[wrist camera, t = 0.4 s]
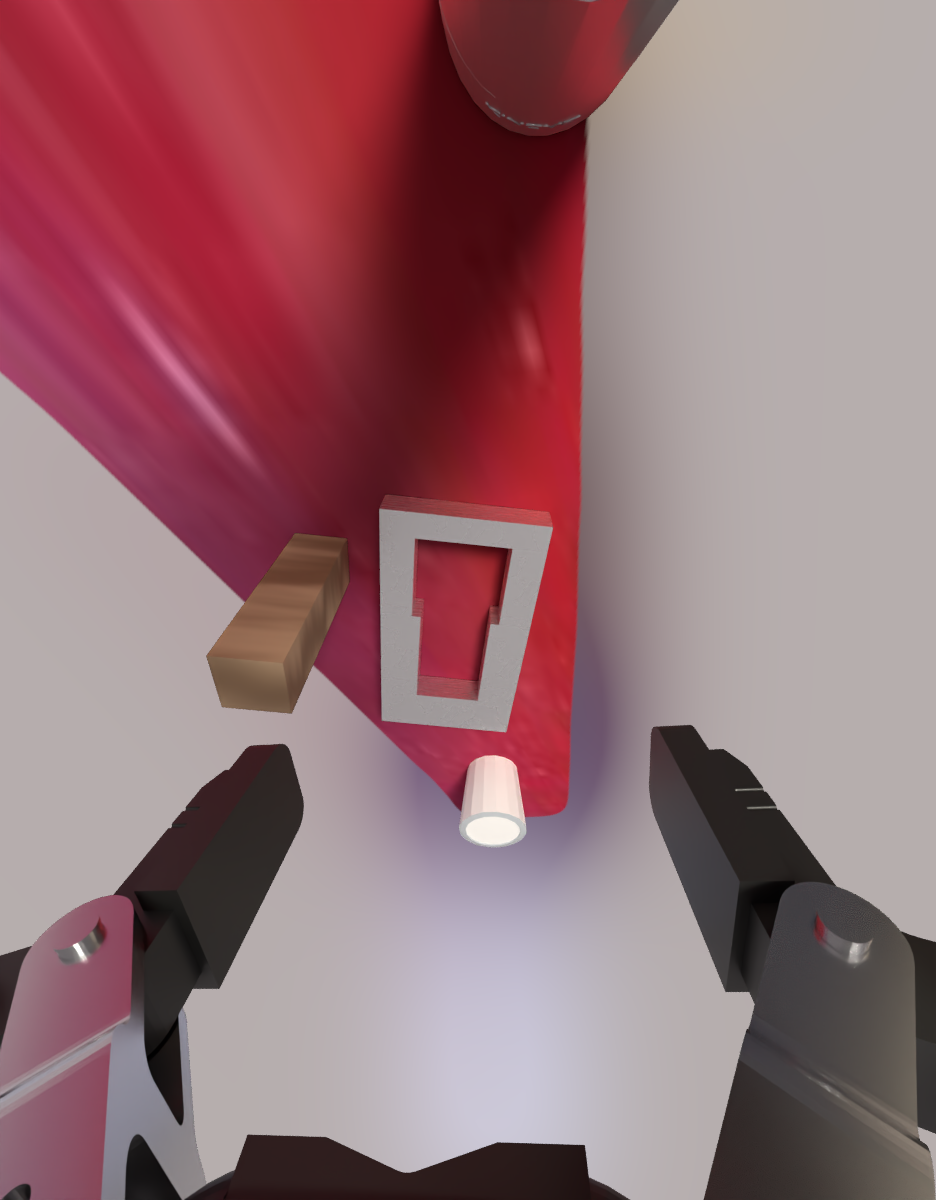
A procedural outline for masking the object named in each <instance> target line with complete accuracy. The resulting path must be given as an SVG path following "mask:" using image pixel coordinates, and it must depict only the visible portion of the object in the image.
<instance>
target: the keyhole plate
mask: <svg viewBox="0 0 936 1200" xmlns="http://www.w3.org/2000/svg"><path fill="white" fill-rule="evenodd" d="M379 530H380V615H381V700H382V721H391V722H402V723H412V724H423V725H434V726H445V727H455V728H466V729H477V730H488V731H499V732H506V731H507V726H508V722H509V717H510V713H511V709H512V704H513V700H514V696H515V691H516V687H517V682H518V678H519V674H520V669H521V665H522V661H523V656H524V652H525V648H526V643H527V639H528V634H529V630H530V626H531V621H532V617H533V613H534V608H535V604H536V600H537V595H538V591H539V586H540V582H541V578H542V573H543V569H544V565H545V560H546V556H547V552H548V547H549V543H550V538H551V534H552V530H553V525H552V521H551V517H550V513H549V512H546V511H537V510H527V509H518V508H509V507H500V506H490V505H481V504H472V503H462V502H453V501H444V500H435V499H425V498H416V497H407V496H398V495H388V494H386V495H385V497H384V499H383V501H382V504H381V506H380V508H379ZM418 539H425V540H434V541H444V542H453V543H463V544H472V545H482V546H491V547H501V548H508V554H507V560H506V566H505V571H504V577H503V583H502V589H501V595H500V600H499V606H490V610H489V617H488V623H487V629H486V635H485V642H484V648H483V654H482V661H481V667H480V673H479V679H478V681H473V680H462V679H452V678H442V677H431V676H421V675H420V664H421V646H422V628H423V610H424V599H420V598H416V582H417V558H418Z"/></svg>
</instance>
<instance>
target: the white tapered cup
mask: <svg viewBox="0 0 936 1200" xmlns="http://www.w3.org/2000/svg"><path fill="white" fill-rule="evenodd" d="M459 829H460V833H461V835H462V836H463V837H464V838H465V839H466V840H467V841H469V842H471V843H474V844H476V845H479V846H485V847H504V846H508V845H512V844H515V843H516V842H518V841H520V840H521V839H523V837H524V836H525V834H526V824H525V817H524V811H523V805H522V798H521V792H520V786H519V780H518V773H517V767H516V766H515V764H514V763H513V762H512V761H510V760H509V759H507V758H505V757H500V756H495V755H494V756H483V757H480V758H477V759H475V760H474V761H473V762H471V763H470V765H469V767H468V770H467V777H466V784H465V791H464V798H463V804H462V811H461V819H460V826H459Z"/></svg>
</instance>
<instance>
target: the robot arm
mask: <svg viewBox="0 0 936 1200" xmlns="http://www.w3.org/2000/svg"><path fill="white" fill-rule="evenodd" d="M678 1H679V0H439V5H440V11H441V16H442V22H443V26H444V30H445V35H446V39H447V43H448V48H449V52H450V55H451V58H452V60H453V63H454V65H455V68H456V70H457V73H458V75H459V78H460V80H461V82H462V83H463V85H464V86H465V88H466V90H467V91H468V93H469V94H470V96H471V98H472V99H473V101H474V102H475V103H476V104H477V105H478V106H479V107H480V109H481V110H482V111H483V112H484V113H485V114H486V115H487V116H488V117H489V118H490V119H491V120H493V121H495V122H496V123H498V124H499V125H501V126H503V127H504V128H506V129H507V130H509V131H513V132H516V133H520V134H523V135H527V136H548V135H551V134H555V133H558V132H561V131H564V130H568V129H570V128H571V127H573V126H575V125H576V124H578V123H579V122H581V121H583V120H584V119H586V118H588V117H589V116H590V115H591V114H592V113H593V112H594V111H595V110H596V109H597V108H598V107H599V106H600V105H601V104H603V103H604V102H605V101H606V99H607V98H608V97H609V95H610V94H611V93H612V92H613V90H614V89H615V87H616V86H617V85H618V83H619V82H620V81H621V79H622V78H623V76H624V75H625V74H626V72H627V71H628V70H629V68H630V67H631V66H632V65H633V63H634V62H635V61H636V60H637V58H638V57H639V55H640V54H641V53H642V51H643V50H644V48H645V47H646V46H647V44H648V43H649V41H650V40H651V39H652V37H653V36H654V35H655V33H656V32H657V30H658V29H659V28H660V26H661V25H662V23H663V22H664V21H665V19H666V18H667V16H668V15H669V14H670V12H671V11H672V9H673V8H674V6H675V5H676V4H677V2H678ZM649 791H650V799H651V804H652V809H653V813H654V816H655V818H656V821H657V823H658V826H659V828H660V831H661V833H662V836H663V838H664V841H665V843H666V846H667V848H668V851H669V853H670V856H671V858H672V860H673V863H674V866H675V868H676V871H677V873H678V875H679V878H680V880H681V883H682V885H683V888H684V890H685V893H686V895H687V897H688V900H689V903H690V905H691V908H692V910H693V912H694V915H695V917H696V920H697V922H698V925H699V927H700V930H701V932H702V935H703V937H704V940H705V942H706V945H707V947H708V949H709V952H710V955H711V957H712V960H713V962H714V964H715V967H716V969H717V972H718V974H719V977H720V979H721V982H722V984H723V987H724V989H725V991H726V992H750V995H751V997H752V999H753V1001H754V1004H755V1005H754V1010H753V1014H752V1018H751V1022H750V1025H749V1029H747V1030H746V1034H745V1037H744V1040H743V1044H742V1047H741V1051H740V1055H739V1059H738V1063H737V1068H736V1071H735V1076H734V1079H733V1083H732V1087H731V1091H730V1096H729V1100H728V1104H727V1108H726V1112H725V1116H724V1120H723V1124H722V1128H721V1132H720V1136H719V1140H718V1144H717V1148H716V1152H715V1157H714V1161H713V1164H712V1168H711V1172H710V1176H709V1181H708V1185H707V1189H706V1193H705V1197H704V1200H936V1199H935V1182H934V1181H935V1180H934V1170H933V1164H932V1158H931V1154H930V1151H929V1148H928V1146H927V1145H926V1144H925V1143H923V1142H922V1141H920V1139H919V1134H918V1127H920V1128H923V1129H925V1130H928V1131H930V1132H933V1133H935V1134H936V942H933V941H930V940H926V939H922V938H918V937H916V936H912V935H909V934H907V933H904V932H901V931H900V930H899V928H898V927H897V926H896V925H895V924H894V923H893V922H892V921H891V920H890V919H889V918H888V917H887V916H886V915H885V914H884V913H882V911H880V910H879V909H878V908H876V907H875V906H874V905H872V904H871V903H870V902H868V901H866V900H865V899H863V898H861V897H860V896H858V895H856V894H853V893H852V892H850V891H848V890H845V889H842V888H840V887H837V886H836V885H835V884H834V883H833V881H832V880H831V879H830V877H829V876H828V875H827V873H826V872H825V870H824V869H823V868H822V866H821V865H820V864H819V862H818V861H817V860H816V858H815V857H814V856H813V855H812V853H811V851H810V850H809V849H808V847H807V846H806V845H805V843H804V842H803V841H802V839H801V838H800V837H799V835H798V834H797V833H796V831H795V830H794V828H793V827H792V826H791V824H790V823H789V822H788V820H787V819H786V818H785V817H784V815H783V814H782V812H781V811H780V810H777V808H776V805H775V803H774V802H773V800H772V799H771V798H770V796H769V795H768V793H767V792H764V790H763V787H762V785H761V784H760V783H759V781H758V780H757V778H756V777H755V776H754V775H753V773H752V772H751V770H750V769H749V768H748V766H746V765H745V764H744V763H742V762H741V761H739V760H738V759H737V758H735V757H734V756H732V755H731V754H730V753H728V752H727V751H725V750H724V749H715V750H709V749H708V747H707V746H706V744H705V743H704V741H703V740H702V738H701V737H700V735H699V734H698V732H697V731H696V729H695V728H694V727H693V726H692V725H680V726H660V727H653V729H652V732H651V751H650V777H649ZM303 808H304V803H303V796H302V793H301V789H300V785H299V782H298V779H297V775H296V772H295V768H294V764H293V761H292V757H291V754H290V751H289V748H288V747H287V746H286V745H284V744H274V745H254V746H249V747H248V748H246V749H245V751H244V752H243V753H242V754H241V756H240V757H239V758H238V759H237V761H236V762H235V763H234V764H233V766H232V767H231V768H230V770H225V771H223V772H222V773H221V774H219V775H218V776H216V777H215V778H214V779H213V780H211V781H210V782H209V783H207V784H206V785H205V786H204V787H202V788H201V789H200V791H199V792H198V793H197V794H196V795H195V797H194V798H193V799H192V800H191V802H190V803H189V804H188V805H187V806H186V810H185V811H183V812H181V814H180V815H179V816H178V817H177V818H176V820H175V821H174V822H173V823H172V827H171V828H168V829H167V831H166V832H165V833H164V834H163V835H162V837H161V838H160V839H159V840H158V841H157V843H156V844H155V845H154V846H153V848H152V849H151V850H150V851H149V852H148V854H147V855H146V856H145V857H144V858H143V860H142V861H141V862H140V863H139V864H138V866H137V867H136V868H135V870H134V871H133V872H132V873H131V874H130V876H129V877H128V878H127V879H126V880H125V881H124V883H123V884H122V885H121V886H120V887H119V889H118V890H117V891H116V892H115V894H114V895H110V896H105V897H101V898H98V899H95V900H92V901H90V902H87V903H85V904H83V905H81V906H79V907H77V908H75V909H74V910H72V911H71V912H69V913H67V914H66V915H65V916H63V917H62V918H61V919H59V920H58V921H57V922H55V923H54V924H53V925H52V926H51V927H49V928H48V929H47V930H46V931H45V932H44V933H43V934H42V935H41V936H40V937H39V938H38V940H37V941H36V942H35V943H34V944H33V946H30V947H27V948H24V949H21V950H17V951H14V952H11V953H8V954H4V955H1V956H0V1200H630V1199H628V1198H626V1197H625V1196H623V1195H622V1194H620V1193H618V1192H617V1191H615V1190H614V1189H612V1188H610V1187H609V1186H607V1185H604V1184H602V1183H600V1182H597V1181H595V1180H593V1179H591V1178H589V1176H588V1168H587V1159H586V1151H585V1145H563V1144H531V1143H530V1144H529V1143H495V1144H492V1145H489V1146H486V1147H484V1148H481V1149H478V1150H475V1151H472V1152H469V1153H467V1154H464V1155H461V1156H458V1157H456V1158H453V1159H450V1160H447V1161H444V1162H441V1163H438V1164H436V1165H433V1166H430V1167H427V1168H424V1169H421V1170H419V1171H416V1172H411V1173H403V1172H400V1171H397V1170H395V1169H393V1168H391V1167H388V1166H386V1165H384V1164H382V1163H380V1162H378V1161H376V1160H374V1159H372V1158H369V1157H367V1156H365V1155H363V1154H361V1153H359V1152H357V1151H354V1150H352V1149H350V1148H348V1147H346V1146H344V1145H342V1144H340V1143H338V1142H336V1141H333V1140H331V1139H329V1138H327V1137H303V1136H271V1135H247V1138H246V1141H245V1144H244V1147H243V1149H242V1152H241V1155H240V1158H239V1161H238V1163H237V1166H236V1169H235V1170H234V1171H231V1172H229V1173H227V1174H225V1175H223V1176H221V1177H219V1178H217V1179H215V1180H214V1181H212V1182H210V1183H208V1184H206V1180H205V1175H204V1172H203V1168H202V1164H201V1161H200V1158H199V1154H198V1149H197V1144H196V1138H195V1129H194V1115H193V1101H192V1087H191V1074H190V1060H189V1047H188V1032H187V1019H186V1014H185V1012H184V1010H183V1008H182V1007H183V1005H184V1004H185V1002H186V1000H187V998H188V996H189V994H190V993H191V991H192V989H219V988H220V986H221V984H222V982H223V980H224V978H225V976H226V974H227V972H228V970H229V968H230V966H231V964H232V962H233V960H234V958H235V956H236V954H237V952H238V950H239V948H240V946H241V944H242V942H243V940H244V938H245V936H246V934H247V932H248V930H249V928H250V926H251V924H252V922H253V920H254V918H255V916H256V914H257V912H258V910H259V908H260V906H261V904H262V902H263V900H264V898H265V896H266V894H267V892H268V890H269V888H270V886H271V884H272V882H273V880H274V878H275V876H276V874H277V872H278V870H279V867H280V866H281V864H282V862H283V860H284V858H285V856H286V854H287V852H288V850H289V848H290V846H291V844H292V842H293V840H294V838H295V835H296V834H297V831H298V830H299V827H300V825H301V821H302V817H303Z"/></svg>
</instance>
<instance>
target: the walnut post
mask: <svg viewBox="0 0 936 1200" xmlns="http://www.w3.org/2000/svg"><path fill="white" fill-rule="evenodd" d="M349 582H350V578H349V561H348V543H347V538H338V537H328V536H319V535H309V534H300V533H295V534H294V536H293V537H292V538H291V540H290V541H289V542H288V544H287V545H286V547H285V548H284V549H283V551H282V552H281V553H280V555H279V556H278V558H277V559H276V560H275V562H274V563H273V565H272V566H271V567H270V569H269V570H268V571H267V573H266V574H265V576H264V577H263V578H262V580H261V581H260V582H259V584H258V585H257V587H256V588H255V589H254V591H253V592H252V593H251V595H250V596H249V598H248V599H247V600H246V602H245V603H244V605H243V606H242V607H241V609H240V610H239V612H238V613H237V614H236V616H235V617H234V618H233V620H232V621H231V623H230V624H229V625H228V627H227V628H226V630H225V631H224V632H223V634H222V635H221V636H220V638H219V639H218V640H217V642H216V643H215V645H214V646H213V647H212V649H211V650H210V652H209V653H208V654H207V656H206V657H207V660H208V663H209V666H210V670H211V673H212V676H213V679H214V683H215V686H216V689H217V692H218V696H219V699H220V702H221V705H222V707H226V708H237V709H248V710H258V711H270V712H280V713H292V712H293V710H294V707H295V705H296V703H297V700H298V698H299V696H300V694H301V691H302V689H303V686H304V684H305V682H306V680H307V678H308V675H309V673H310V671H311V668H312V666H313V664H314V662H315V659H316V657H317V655H318V653H319V650H320V648H321V646H322V643H323V641H324V639H325V637H326V634H327V632H328V630H329V627H330V625H331V623H332V621H333V618H334V616H335V614H336V611H337V609H338V607H339V605H340V602H341V600H342V598H343V596H344V593H345V591H346V589H347V586H348V584H349Z"/></svg>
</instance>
